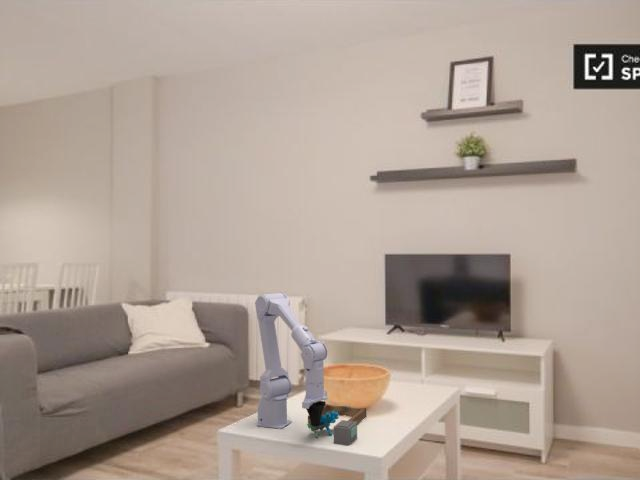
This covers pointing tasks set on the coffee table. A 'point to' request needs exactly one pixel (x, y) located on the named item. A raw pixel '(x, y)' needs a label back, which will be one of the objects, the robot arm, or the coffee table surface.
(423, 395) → the coffee table surface
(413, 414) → the coffee table surface
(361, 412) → the frame
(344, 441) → the block
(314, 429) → the blue green toy construction
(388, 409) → the coffee table surface
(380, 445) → the coffee table surface
